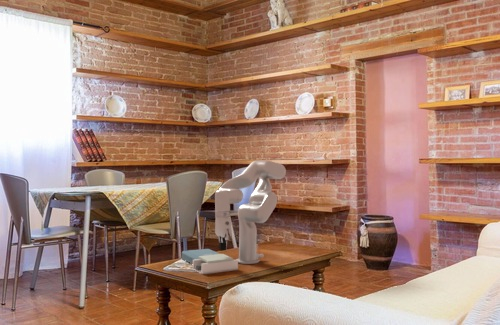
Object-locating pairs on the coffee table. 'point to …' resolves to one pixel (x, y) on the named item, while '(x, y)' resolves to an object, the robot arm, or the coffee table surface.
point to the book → (196, 254)
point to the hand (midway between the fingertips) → (222, 249)
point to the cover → (215, 258)
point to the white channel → (214, 266)
